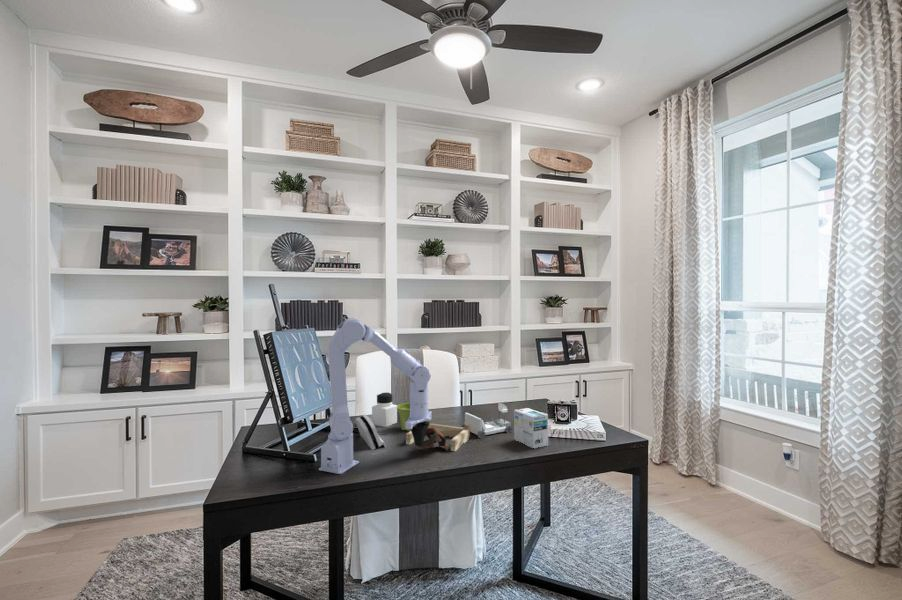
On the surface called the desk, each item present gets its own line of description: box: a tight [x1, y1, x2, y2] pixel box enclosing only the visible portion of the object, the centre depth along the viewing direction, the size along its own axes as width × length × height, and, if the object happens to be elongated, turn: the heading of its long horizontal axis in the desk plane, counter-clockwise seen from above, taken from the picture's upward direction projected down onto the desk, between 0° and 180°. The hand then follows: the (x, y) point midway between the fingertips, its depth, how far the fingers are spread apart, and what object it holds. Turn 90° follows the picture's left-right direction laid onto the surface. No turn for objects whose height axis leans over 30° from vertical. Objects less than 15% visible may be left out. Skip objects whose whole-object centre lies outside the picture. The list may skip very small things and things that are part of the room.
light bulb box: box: [513, 407, 549, 449], centre depth 155 cm, size 11×7×11 cm, turn 31°
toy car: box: [461, 401, 514, 439], centre depth 168 cm, size 18×10×12 cm
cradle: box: [405, 421, 471, 452], centre depth 156 cm, size 14×18×5 cm
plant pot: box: [397, 402, 411, 432], centre depth 170 cm, size 9×9×9 cm
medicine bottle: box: [371, 391, 398, 428], centre depth 177 cm, size 7×7×12 cm
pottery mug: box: [416, 427, 449, 452], centre depth 148 cm, size 12×10×8 cm
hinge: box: [354, 414, 387, 450], centre depth 156 cm, size 17×5×10 cm, turn 24°
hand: (419, 445), depth 142 cm, fingers closed
